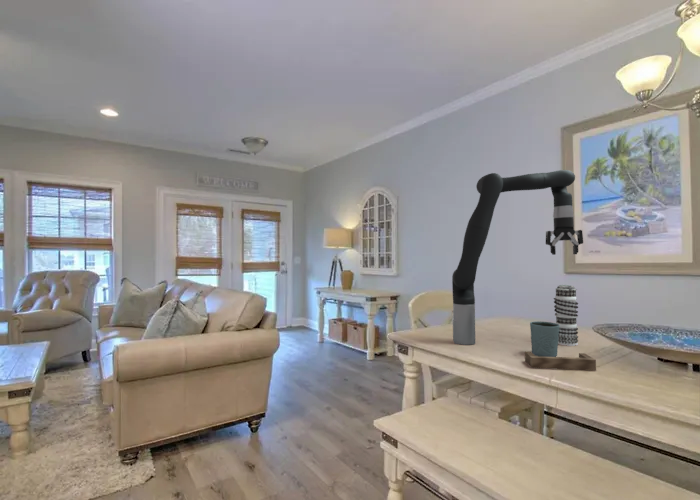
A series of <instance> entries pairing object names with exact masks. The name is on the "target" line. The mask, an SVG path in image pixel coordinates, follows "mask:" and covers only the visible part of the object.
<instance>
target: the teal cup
mask: <svg viewBox="0 0 700 500" xmlns="http://www.w3.org/2000/svg"><path fill="white" fill-rule="evenodd" d="M529 325H530V326H529V327H530V339H531V340H530V342H531V352H532V353H533V354H534V355H535V356H543V357H556V356H557V357H558V350H559V349H558V348H559V347H558V346H559V344H558V338H559V337H558V336H559V328H560V325H559V324H556V322H551V321H530V322H529Z"/></svg>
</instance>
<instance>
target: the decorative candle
mask: <svg viewBox="0 0 700 500" xmlns="http://www.w3.org/2000/svg"><path fill="white" fill-rule="evenodd" d="M577 290H578V289H576V288H575V287H574V285H567V284H564V285H563V284H560V285H557V287H556V288H555V297H553V300H554V301H553V303H554V306H553V307H554V312H555V313H554V316H555V319H556V320H555V323H556V324H559V325H560V328H559V336H558V337H559V338H558V345H559V346H560V345H561V346H566V345H567V347H575V345H576V346H578V345H579V343H578V342H579V336H578V333H579V332H578V330H579V328H578V324H577V318H578V317H579V314H578V313H579V311H578V310H577V309H578V308H579V305H578V304H579V303H578V302H577Z"/></svg>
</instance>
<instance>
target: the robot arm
mask: <svg viewBox="0 0 700 500" xmlns="http://www.w3.org/2000/svg"><path fill="white" fill-rule="evenodd" d="M575 180H576V175H575V173H574V172H573V171H572V170H569V169H560V170H555V171H554V170H553V171H549V172H548V171H547V172H539V173H538V172H536V173H528V174H521V175H520V174H519V175H516V176H510V177H509V176H508V177H507V176H505V177H502V176H501V175H500V174H499V173H496V172H494V173H493V172H491V173H487V174H485V175H483V176H482V177H480V178H479V179H478V181H477V183H476V191H477V193H478V194H479V199H478V202H477V204H476V207H475V209H474V210H473V212H472V214H471V215H470V218H469V220H468V222H467V226H466V228H465V229H466V230H465V233H464V237H463V244H462V252H461V256H460V260H459V263H458V265H457V267H456V269H455V270H454V271H453V272H452V280H451V281H452V282H451V284H452V285H451V287H452V307H453V308H452V309H453V310H452V311H453V312H452V315H453V316H452V318H453V319H452V342H453V344H455V345H457V344H458V345H463V346H464V345H465V346H466V345H468V346H470V345H471V346H472V345H475V344H476V297H475V285H474V284H475V281H476V278H477V277H476V275H477V269H478V264H479V260H480V257H481V255H482V254H483V253H482V252H483V251H484V247H485V244H486V240H487V239H488V236H489V231H490V227H491V223H492V219H493V215H494V211H495V208H496V205H497V202H498V200H499V197H500V195H501V194H502V193H506V192H517V191H518V192H519V191H536V190H537V191H538V190H544V189H545V190H546V189H548V188H550V190H551V194H552V197H553V212H552V213H553V214H552V218H553V231H552V230H547V231H545V245H547V246H549V248H550V253H551V255H556V252H557V251H556V244H557V243H558V242H559V241H560V242H561V241H569V242H570V243H571V244H572V245H573V246H572V253H573V254H572V255H578V253H579V245H581V244H582V245H583V244H584V235H583V229H578V230H575V228H574V227H575V223H574V222H575V221H574V219H575V218H574V217H575V216H574V207H573V195H572V193H570V192H568V189H567V187H570V185H572V184H573V183H574V182H575ZM574 235H576V237H577V239H576V238H575V237H574ZM552 236H554V238H553V239H552V238H551V237H552ZM551 239H552V240H551Z"/></svg>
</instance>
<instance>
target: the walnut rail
mask: <svg viewBox="0 0 700 500" xmlns="http://www.w3.org/2000/svg"><path fill="white" fill-rule="evenodd" d="M524 361H525V362H526V363H527V365H528V366H529V367H530V368H531V369H534V368H535V369H548V368H557V369H556V370H573V369H575V371H578V370H579V371H597V361H596V358H594V357H592V356H590V355H588V354H587V353H585V352H584V353H582V352H579V353H578V357H574V356H573V357H572V356H571V357H570V356H567V357H566V356H557V357H543V356H535V355H534V354H533V353H532V351H524Z"/></svg>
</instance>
